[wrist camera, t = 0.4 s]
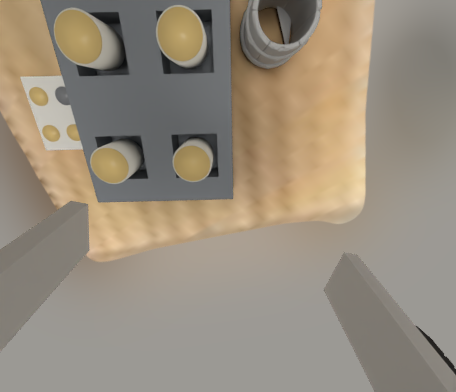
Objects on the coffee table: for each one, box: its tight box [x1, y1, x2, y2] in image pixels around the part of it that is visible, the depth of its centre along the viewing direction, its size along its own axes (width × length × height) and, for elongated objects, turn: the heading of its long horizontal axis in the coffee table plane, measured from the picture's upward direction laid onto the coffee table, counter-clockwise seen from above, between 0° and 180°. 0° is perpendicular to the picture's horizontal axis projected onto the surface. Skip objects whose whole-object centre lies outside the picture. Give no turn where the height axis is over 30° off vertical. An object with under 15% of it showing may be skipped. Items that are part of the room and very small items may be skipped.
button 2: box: [156, 5, 208, 69], centre depth 24 cm, size 5×5×5 cm
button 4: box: [172, 137, 214, 182], centre depth 30 cm, size 5×5×5 cm
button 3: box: [90, 139, 144, 184], centre depth 30 cm, size 5×5×5 cm
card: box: [20, 76, 83, 150], centre depth 33 cm, size 10×7×1 cm
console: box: [40, 0, 233, 202], centre depth 30 cm, size 26×20×5 cm
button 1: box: [54, 8, 125, 71], centre depth 24 cm, size 5×5×5 cm
